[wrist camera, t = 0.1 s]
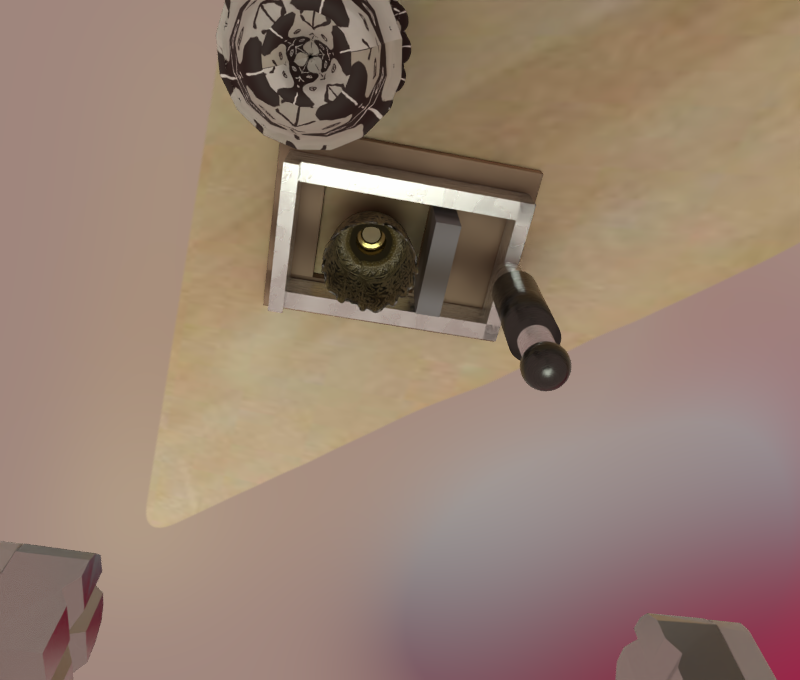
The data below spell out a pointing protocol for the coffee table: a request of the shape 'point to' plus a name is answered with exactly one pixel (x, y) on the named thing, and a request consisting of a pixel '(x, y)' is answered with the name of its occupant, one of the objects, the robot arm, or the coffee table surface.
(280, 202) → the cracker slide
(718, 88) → the coffee table surface
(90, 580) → the robot arm
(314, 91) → the decorative candle
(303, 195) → the base
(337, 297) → the cup
